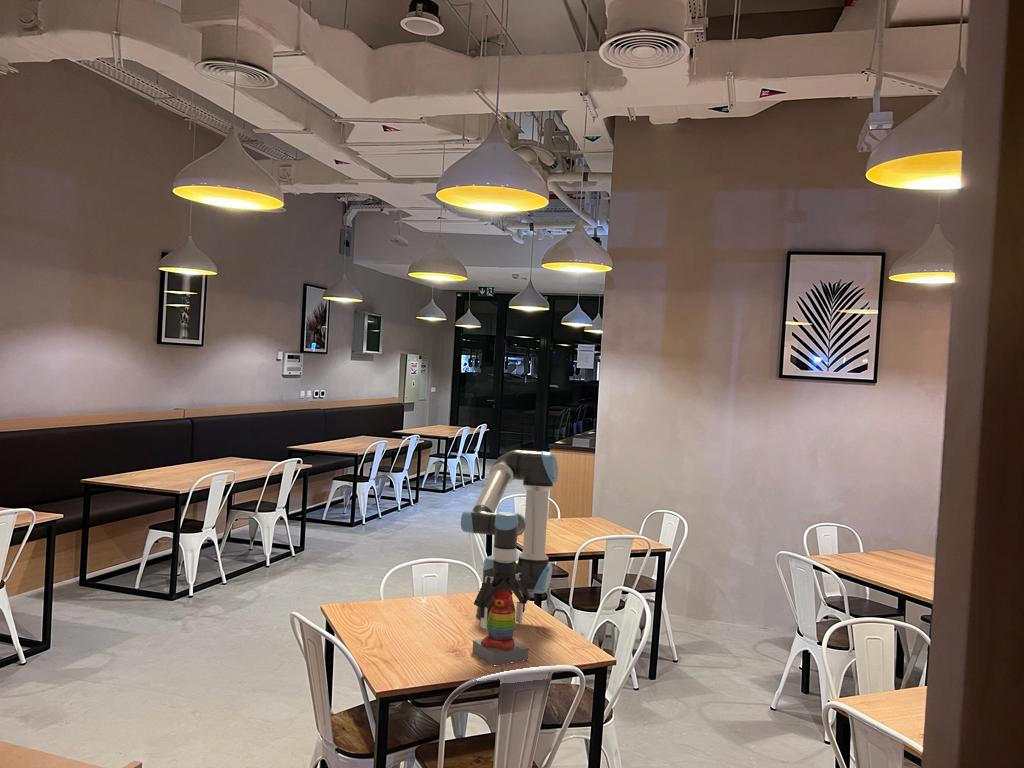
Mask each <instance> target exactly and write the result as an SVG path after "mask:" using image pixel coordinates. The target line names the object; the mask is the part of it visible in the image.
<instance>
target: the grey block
mask: <svg viewBox="0 0 1024 768" xmlns="http://www.w3.org/2000/svg"><path fill="white" fill-rule="evenodd" d="M482 639H483V638H477V639H473V640H472V653H473V654H474V655H476V656H477V657H479V658H481V659H482V660H483V661H484V662H486V663H488V664H489V663H490V664H492V665H493V666H494V665H500V666H503V665H502V664H505V665H508V664H507V663H511V662H517V663H519V662H518V661H522V662H524V661H523V660H528V661H529V649H530V648H529V647H528V646H526V645H524V644H522V643H521V642H520V641H517V640H516V639H514V643H515V645H514V648H513V649H511V650H502V649H500V648H496V647H485V646H482V645H481V641H482ZM490 664H489V665H490ZM511 664H512V663H511ZM492 665H491V666H492ZM493 666H492V667H493ZM494 667H495V666H494Z"/></svg>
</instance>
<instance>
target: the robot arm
mask: <svg viewBox="0 0 1024 768" xmlns="http://www.w3.org/2000/svg"><path fill="white" fill-rule="evenodd" d="M558 468H559V467H558V461H557V457H556V455H555V454H554V453H553V452H549V451H544V450H542V451H541V450H540V451H539V450H524V449H523V450H521V449H513V450H510V451H507V452H505V453H503V454H502V455H501V456H500V457H498V458H497V459H496V460H495V461H494V462H493V463H492V465H491V467H490V468H489V469H490V470H489V477H488V478H487V481H486V482H485V484H484V486H483V488H482V490H481V492H480V495H479V496H478V499H477V500H476V502H475V505H474V507H473V509H472V510H465V511H463V512H462V514H461V517H460V528H461V530H462V531H463V532H465V533H470V534H478V535H479V534H480V535H489V536H490V535H491V536H493V537H494V538H493V554H492V555H489V556H487V557H485V558H484V561H483V568H482V585H481V587H480V588H479V591H478V594H477V595H476V597H475V599H474V602H473V605H474V606H476V607H477V608H476V616H477V617H478V618H480V627H481V628H483V629H485V630H486V629H487V620H488V617H489V612H490V610H491V608H492V607H493V606H494V604H493V601H492V597H493V596H494V594H495V593H496V592H497V591H498V590H500V589H501V590H502V589H505V590H511V591H512V592H513V595H515V597H516V599H517V600H518V601H516V608H515V603H514V599H512V604H511V606H510V607H512V609H513V611H514V615H515V621H516V622H517V623H518V624H521V625H522V624H523V617H524V616H523V615H524V614H523V613H525V609H526V604H527V603H528V601H530V600H531V596H530V593H532V594H545V593H546V592H547V590H548V589H549V587H550V583H551V581H552V575H553V564H552V563H551V562H549V556H548V555H547V554H546V542H547V541H546V538H547V524H548V523H547V521H548V506H549V504H548V503H549V491H550V490H551V489H553V486H554V484H555V483H558V476H559V469H558ZM513 480H518V481H522V486H523V487H524V488H525V489H526V494H525V495H526V496H525V509H524V511H525V513H524V516H523V515H522V513H519V512H510V511H509V512H508V511H500V512H497V513H496V510H497V508H498V505H499V504H500V502H501V499H502V498H503V495H504V493H505V490H506V489H507V487H508V485H509V484H511V483H512V482H513ZM521 535H523V544H522V552H521V553H520V554H519V555H518V559H517V545H518V543H517V542H518V536H521Z"/></svg>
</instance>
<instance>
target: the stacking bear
mask: <svg viewBox="0 0 1024 768" xmlns="http://www.w3.org/2000/svg"><path fill="white" fill-rule="evenodd" d="M513 595H514V593H513V591H511V590H505V589H502V590H501V589H500V590H498V591H497V592H496V593H495V594H494V596H493V597H492V601H493V604H494V606H493V607H492V608H491V610H490V612H489V617H488V620H487V628H486V629H487V633H488V635H487V636H485V637H483V638H481V639H482V641H481V645H482V646H485V647H496V648H500V649H502V650H511V649H513V648H514V645H515V643H514V640H515V639H514V635H515V630H516V625H517V623H516V614H515V615H514V611H513V609H512V607H510V606H511V604H512V599H513ZM513 600H514V599H513Z"/></svg>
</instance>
